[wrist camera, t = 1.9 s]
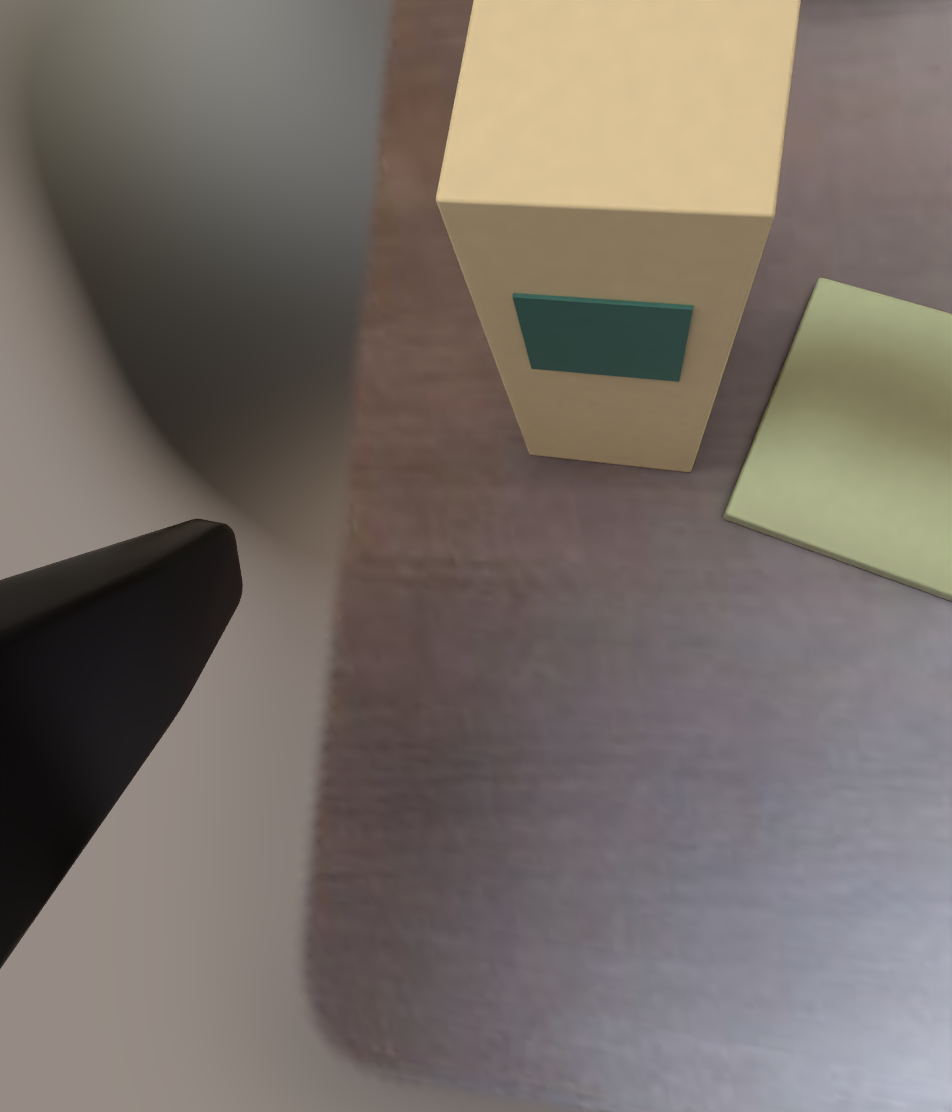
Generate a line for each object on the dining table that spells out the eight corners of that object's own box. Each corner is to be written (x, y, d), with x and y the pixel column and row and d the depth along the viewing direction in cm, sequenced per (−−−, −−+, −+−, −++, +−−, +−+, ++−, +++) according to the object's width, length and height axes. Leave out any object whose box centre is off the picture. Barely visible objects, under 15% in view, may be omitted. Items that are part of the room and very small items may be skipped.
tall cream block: (691, 475, 22) (775, 221, 10) (528, 457, 23) (433, 205, 11) (711, 319, 22) (812, -90, 11) (552, 308, 23) (488, -80, 12)
